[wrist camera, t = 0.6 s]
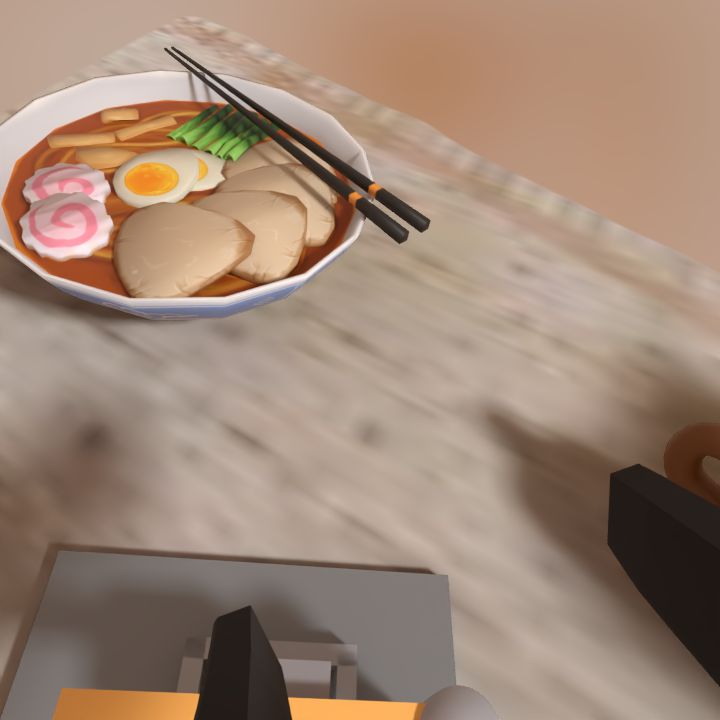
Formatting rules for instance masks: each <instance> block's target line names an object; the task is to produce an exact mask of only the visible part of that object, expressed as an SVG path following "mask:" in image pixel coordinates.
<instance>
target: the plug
mask: <svg viewBox="0 0 720 720" xmlns="http://www.w3.org/2000/svg"><path fill="white" fill-rule="evenodd" d="M278 661H279V663H280V665H281V667H282V670H283V675H284V680H285V685H286V690H287V695H288V698H312V699H329V697H330V675H331V661H313V660H292V659H278Z"/></svg>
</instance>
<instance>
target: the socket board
mask: <svg viewBox="0 0 720 720" xmlns="http://www.w3.org/2000/svg"><path fill="white" fill-rule="evenodd" d="M249 605H251V607H252V609H253V611H254V613H255V615H256V617H257V619H258V621H259V623H260V625H261V627H262V629H263V631H264V633H265V635H266V637H267V639H268V641H269V643H270V645H271V647H272V649H273V651H274V653H275V655H276V657H277V659H292V660H313V661H331V675H330V697H329V699H336V700H360V701H384V702H408V703H424V702H425V701H426V699H427V698H429V697H430V696H431V695H433V694H435V693H436V692H438V691H440V690H441V689H443V688H446V687H449V686H456V675H455V662H454V649H453V636H452V622H451V609H450V596H449V583H448V575H437V574H421V573H406V572H390V571H375V570H359V569H344V568H328V567H313V566H297V565H282V564H266V563H251V562H235V561H220V560H204V559H189V558H174V557H158V556H143V555H127V554H112V553H96V552H81V551H65V550H59V553H58V555H57V558H56V561H55V564H54V567H53V570H52V573H51V575H50V578H49V581H48V584H47V587H46V590H45V593H44V595H43V598H42V601H41V604H40V607H39V610H38V612H37V615H36V618H35V621H34V624H33V627H32V630H31V632H30V635H29V638H28V641H27V644H26V647H25V650H24V652H23V655H22V658H21V661H20V664H19V667H18V670H17V672H16V675H15V678H14V681H13V684H12V687H11V690H10V692H9V695H8V698H7V701H6V704H5V707H4V709H3V712H2V715H1V718H0V720H52V719H53V716H54V712H55V709H56V706H57V702H58V699H59V696H60V693H61V689H62V688H73V689H97V690H121V691H145V692H169V693H193V694H200V691H201V686H202V682H203V677H204V673H205V668H206V663H207V658H208V653H209V648H210V642H211V636H212V630H213V624H214V622H215V620H216V619H217V617H219V616H222V615H225V614H227V613H230V612H233V611H236V610H238V609H241V608H244V607H247V606H249Z"/></svg>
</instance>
